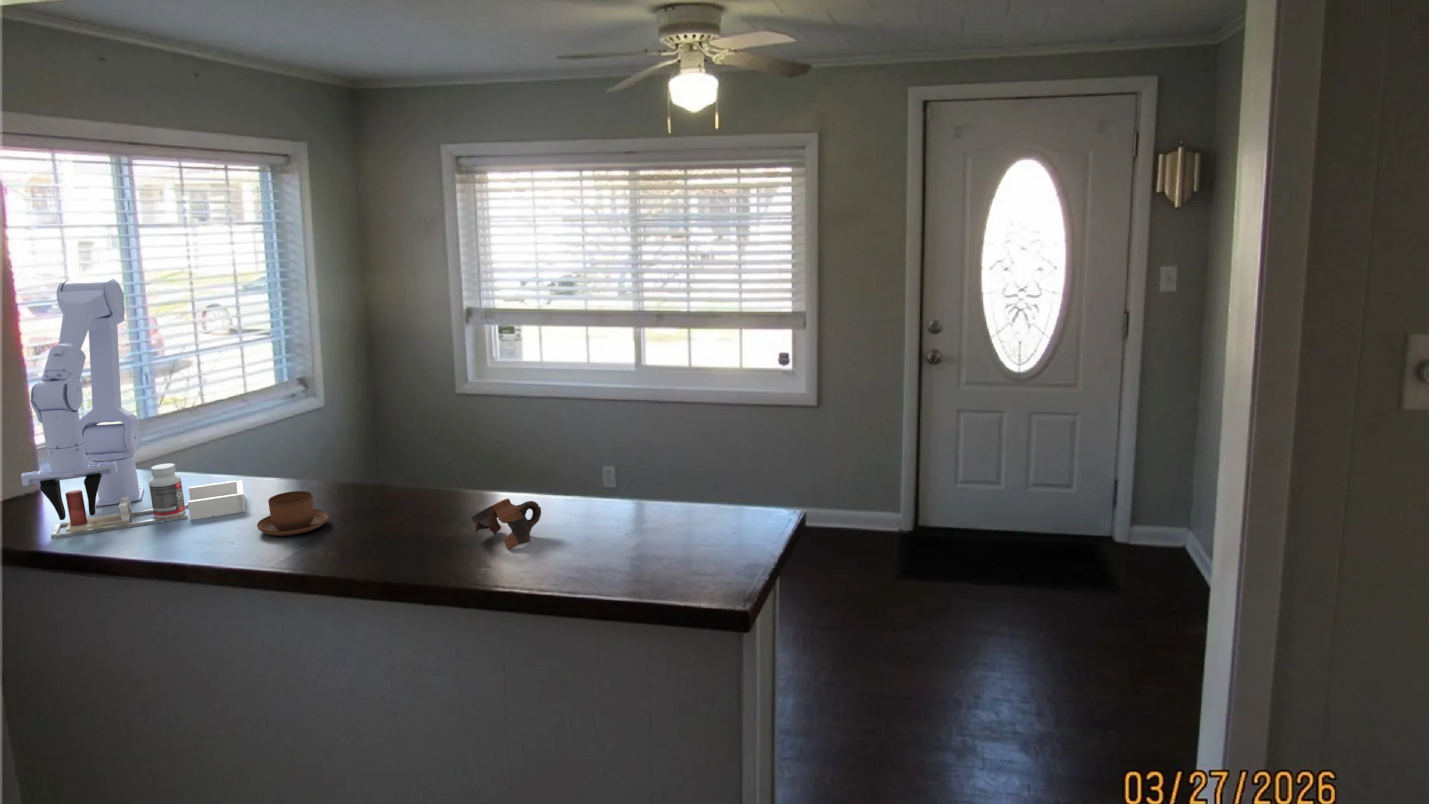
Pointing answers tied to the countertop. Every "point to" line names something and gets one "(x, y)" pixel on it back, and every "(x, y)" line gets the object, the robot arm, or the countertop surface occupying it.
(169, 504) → the pill bottle
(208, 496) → the frame
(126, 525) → the track
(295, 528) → the cup and saucer
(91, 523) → the red peg in tray
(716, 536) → the countertop surface
